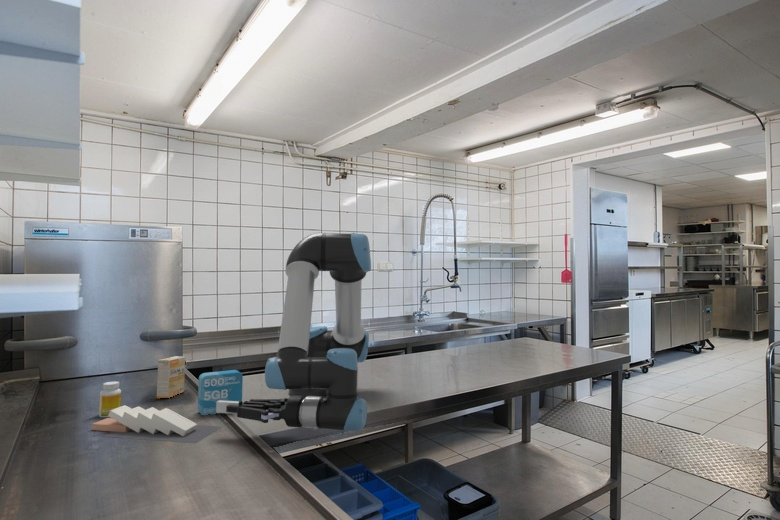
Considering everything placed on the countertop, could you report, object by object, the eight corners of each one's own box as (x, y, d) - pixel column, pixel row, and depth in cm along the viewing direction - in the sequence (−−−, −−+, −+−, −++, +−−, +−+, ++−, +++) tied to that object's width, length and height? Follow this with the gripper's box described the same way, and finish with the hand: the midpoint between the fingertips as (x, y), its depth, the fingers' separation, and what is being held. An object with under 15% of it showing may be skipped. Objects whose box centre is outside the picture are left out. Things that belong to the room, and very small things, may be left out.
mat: (222, 428, 116) (222, 426, 116) (195, 444, 104) (195, 443, 104) (137, 422, 120) (137, 421, 120) (102, 437, 108) (102, 436, 108)
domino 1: (139, 420, 116) (107, 417, 118) (125, 426, 111) (92, 423, 113) (139, 425, 116) (107, 423, 118) (125, 432, 111) (92, 429, 113)
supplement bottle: (95, 416, 125) (96, 383, 126) (115, 411, 130) (116, 380, 130) (104, 419, 122) (105, 385, 123) (124, 414, 127) (125, 382, 127)
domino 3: (168, 422, 115) (138, 406, 116) (155, 428, 110) (124, 411, 111) (166, 427, 115) (136, 411, 116) (153, 434, 110) (122, 417, 111)
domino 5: (197, 424, 113) (166, 407, 115) (185, 430, 108) (153, 413, 110) (195, 429, 113) (164, 413, 115) (183, 436, 108) (151, 419, 110)
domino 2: (154, 421, 115) (125, 405, 117) (140, 427, 110) (110, 410, 112) (152, 426, 115) (123, 410, 117) (138, 432, 110) (108, 415, 112)
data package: (200, 417, 125) (201, 376, 125) (197, 413, 129) (198, 373, 129) (242, 411, 131) (242, 371, 132) (238, 407, 135) (239, 369, 136)
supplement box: (168, 399, 144) (169, 360, 144) (156, 398, 145) (157, 359, 145) (184, 393, 152) (186, 356, 152) (173, 392, 153) (174, 355, 153)
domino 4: (182, 423, 114) (152, 407, 116) (170, 429, 109) (138, 412, 111) (180, 428, 114) (150, 412, 116) (168, 435, 109) (136, 418, 111)
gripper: (293, 436, 99) (202, 429, 103) (313, 418, 112) (231, 413, 116) (294, 403, 100) (203, 398, 104) (313, 389, 113) (231, 385, 117)
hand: (218, 406), depth 110 cm, fingers closed
